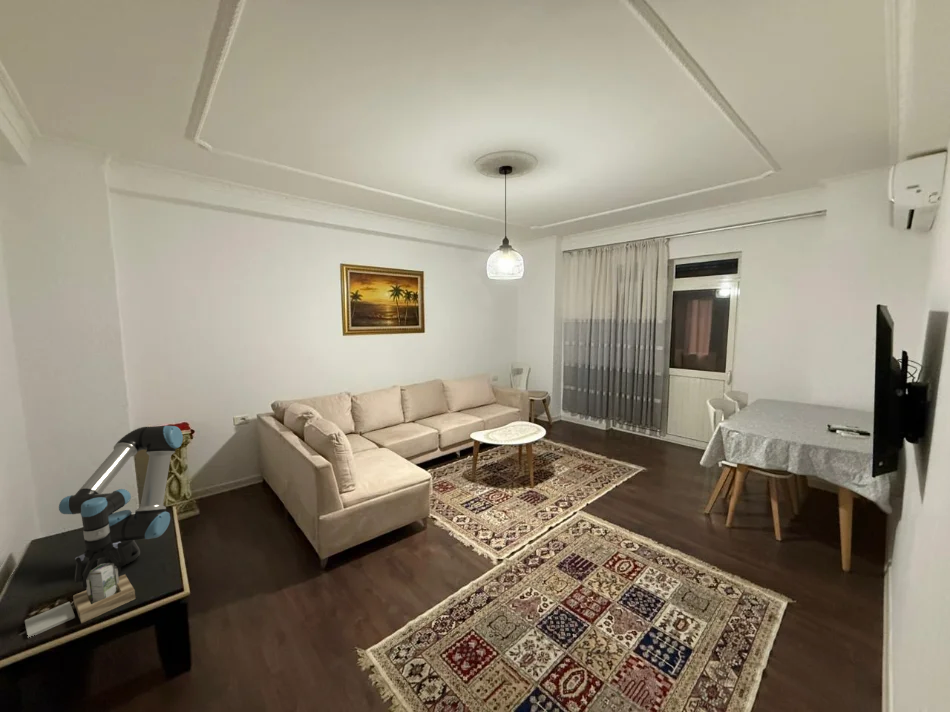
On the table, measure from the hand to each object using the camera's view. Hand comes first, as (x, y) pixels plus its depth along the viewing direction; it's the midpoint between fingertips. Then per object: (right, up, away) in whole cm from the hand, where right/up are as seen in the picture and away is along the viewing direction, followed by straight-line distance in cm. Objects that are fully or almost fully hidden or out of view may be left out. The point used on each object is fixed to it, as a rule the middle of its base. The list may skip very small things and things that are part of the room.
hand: (103, 587), depth 157 cm
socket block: (+1, -6, 0) cm, 6 cm away
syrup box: (+1, -6, 0) cm, 6 cm away
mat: (-11, -7, -10) cm, 16 cm away
